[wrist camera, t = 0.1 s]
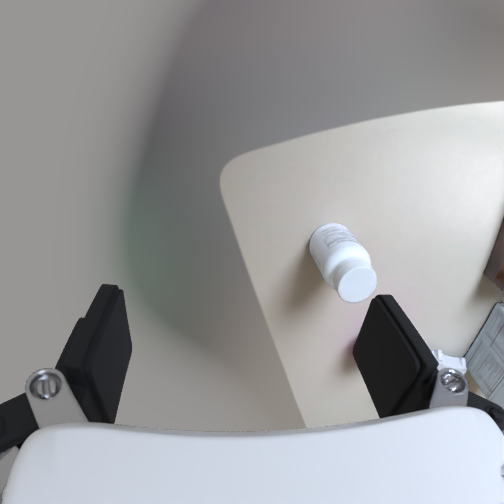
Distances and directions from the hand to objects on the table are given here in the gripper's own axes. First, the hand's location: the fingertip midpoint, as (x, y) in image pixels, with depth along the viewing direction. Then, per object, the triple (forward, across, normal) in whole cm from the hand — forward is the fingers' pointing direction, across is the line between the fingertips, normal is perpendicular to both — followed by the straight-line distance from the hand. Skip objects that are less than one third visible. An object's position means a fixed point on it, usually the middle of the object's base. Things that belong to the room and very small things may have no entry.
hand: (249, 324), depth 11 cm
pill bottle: (+18, -10, +5) cm, 21 cm away
